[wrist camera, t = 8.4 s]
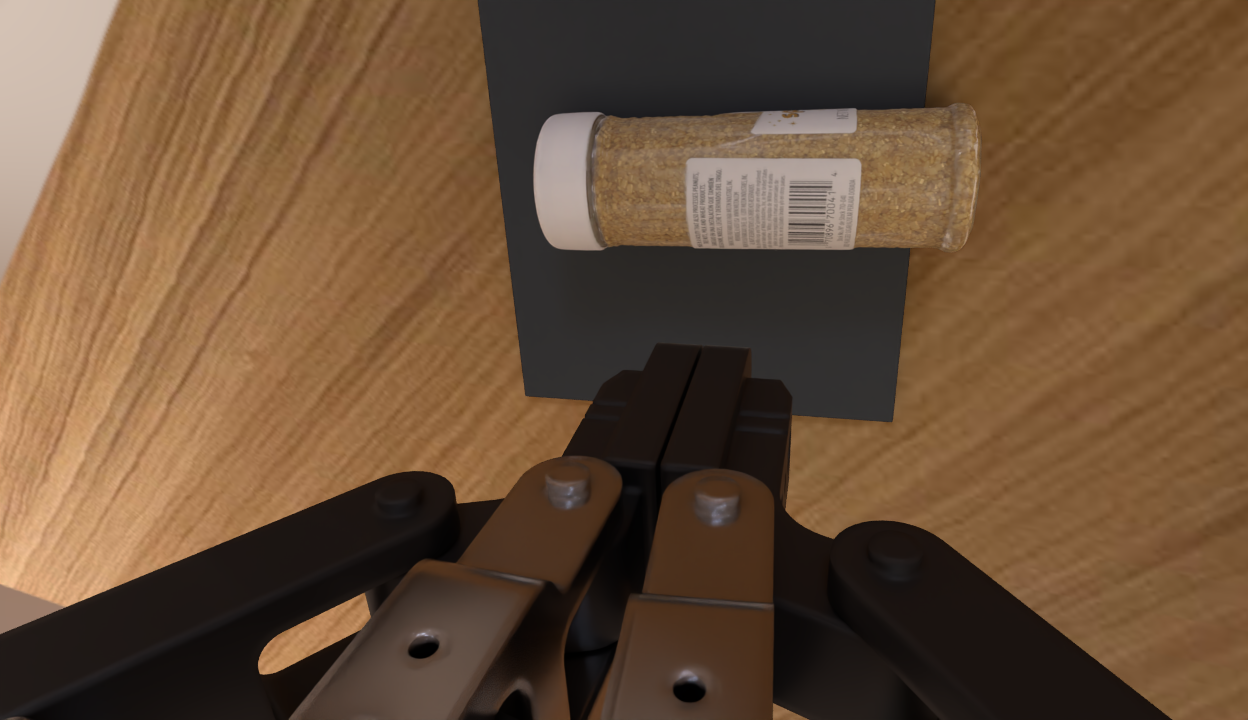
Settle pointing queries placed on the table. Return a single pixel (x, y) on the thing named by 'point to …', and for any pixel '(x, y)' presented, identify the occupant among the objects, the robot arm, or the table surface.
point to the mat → (682, 275)
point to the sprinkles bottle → (761, 179)
